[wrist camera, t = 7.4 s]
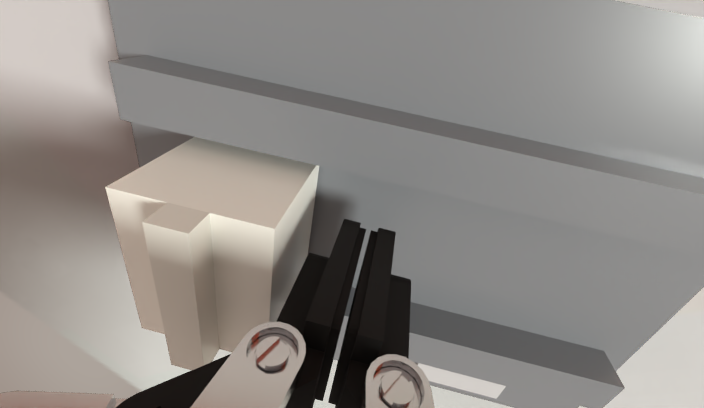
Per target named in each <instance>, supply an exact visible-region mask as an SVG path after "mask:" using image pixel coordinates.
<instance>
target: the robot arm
mask: <svg viewBox="0 0 704 408" xmlns="http://www.w3.org/2000/svg"><path fill="white" fill-rule="evenodd" d="M360 225H361V223H359V222H355V221H352V220H348V219H344V220H343V223H342V225H341V228H340V231H339V233H338V236H337V239H336V241H335V244H334V247H333V249H332V252H331V254H330V257H329V258H328V257H324V256H320V255H317V254H313V253H309V254H308V256H307V258H306V260H305V262H304V264H303V266H302V268H301V270H300V272H299V274H298V277H297V279H296V281H295V283H294V285H293V287H292V289H291V291H290V293H289V295H288V298H287V300H286V302H285V304H284V306H283V308H282V310H281V312H280V314H279V317H278V319H277V321H276V322H267V323H263V324H260V325H258V326H257V327H255V328H253V329H251V330H250V331H249V332H248V333H247V334H246V335H245V336H244V338H243V339H242V340H241V342H240V343H239V344H238V346H237V347H236V348H235V349H234V351H233V352H232V353H231V354H230V355H227V356H225V357H223V358H220V359H218V360H215V361H213V362H211V363H208V364H206V365H204V366H201V367H199V368H196V369H194V370H192V371H189V372H187V373H185V374H182V375H180V376H177V377H175V378H173V379H170V380H168V381H166V382H163V383H161V384H158V385H156V386H154V387H151V388H149V389H147V390H144V391H142V392H139V393H137V394H135V395H133V396H132V397H130V398H128V399H116V398H115V397H114V394H96V393H95V394H94V393H93V394H92V393H66V392H37V391H11V392H4V393H0V408H313V404H314V400H315V399H318V400H321V401H323V397H324V394H325V390H326V386H327V382H328V378H329V374H330V370H331V366H332V362H333V358H334V354H335V350H336V347H337V343H338V339H339V335H340V331H341V327H342V323H343V319H344V315H345V311H346V307H347V303H348V300H349V296H350V292H351V288H352V284H353V280H354V276H355V272H356V268H357V264H358V260H359V256H360V252H361V248H362V244H363V240H364V236H365V232H366V229H364V228H360ZM395 235H396V232H394V231H391V230H387V229H383V228H378V231H377V232H376V231H372V230H371V232H370V236H369V240H368V244H367V247H366V251H365V255H364V259H363V263H362V266H361V270H360V274H359V278H358V282H357V285H356V289H355V293H354V297H353V301H352V305H351V309H350V314H349V318H348V322H347V326H346V330H345V335H344V339H343V343H342V347H341V351H340V355H339V360H338V364H337V368H336V372H335V376H334V381H333V385H332V389H331V393H330V397H329V402H328V403H332V404H335V405H336V406H335V408H434V402H433V396H432V391H431V387H430V384H429V381H428V378H427V377H426V375H425V374H424V372H423V370H422V369H421V368H420V367H419V366H418V365H417V364H416V363H415V362H413V361H411V360H410V359H409V333H410V304H411V280H410V279H407V278H403V277H400V276H396V275H392V274H391V270H392V261H393V253H394V244H395Z"/></svg>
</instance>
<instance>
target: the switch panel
mask: <svg viewBox="0 0 704 408" xmlns="http://www.w3.org/2000/svg"><path fill="white" fill-rule="evenodd" d="M108 4H109V9H110V14H111V19H112V25H113V30H114V35H115V40H116V46H117V51H118V56H119V60H113V61H108V63H109V68H110V73H111V78H112V82H113V87H114V92H115V97H116V102H117V106H118V111H119V116H120V119H121V120H125V121H129V122H131V125H132V130H133V135H134V140H135V146H136V151H137V156H138V161H139V167H142V166H144V165H145V164H147V163H149V162H151V161H152V160H154V159H156V158H158V157H160V156H161V155H163V154H165V153H167V152H168V151H170V150H172V149H174V148H176V147H177V146H179V145H181V144H183V143H185V142H186V141H188V140H190V139H192V138H193V137H197V138H202V139H206V140H210V141H215V142H219V143H223V144H227V145H232V146H236V147H240V148H244V149H249V150H253V151H257V152H262V153H266V154H270V155H274V156H279V157H283V158H287V159H291V160H296V161H300V162H304V163H309V164H313V165H317V166H319V173H318V180H317V188H316V195H315V203H314V211H313V218H312V226H311V233H310V241H309V249H308V254H309V253H313V254H317V255H320V256H324V257H328V258H329V257H330V254H331V252H332V249H333V247H334V244H335V241H336V239H337V236H338V233H339V231H340V228H341V225H342V223H343V220H344V219H348V220H352V221H355V222H359V223H361V225H360V228H364V229H366V232H365V236H364V240H363V244H362V248H361V252H360V256H359V260H358V264H357V268H356V272H355V276H354V280H353V284H352V288H351V292H350V296H349V300H348V303H347V307H346V311H345V315H344V319H343V323H342V327H341V331H340V335H339V339H338V343H337V347H336V350H335V354H334V358H333V359H334V360H339V355H340V351H341V347H342V343H343V339H344V335H345V330H346V326H347V322H348V318H349V314H350V309H351V305H352V301H353V297H354V293H355V289H356V285H357V282H358V278H359V274H360V270H361V266H362V263H363V259H364V255H365V251H366V247H367V244H368V240H369V236H370V232H371V230H372V231H376V232H377V231H378V228H383V229H387V230H391V231H394V232H396V235H395V244H394V253H393V261H392V270H391V274H392V275H396V276H400V277H403V278H407V279H410V280H411V304H410V333H409V359H410V360H411V361H413V362H415V363H416V364H417V365H418V366H419V367H420V368H421V369H422V370H423V372H424V374H425V375H426V377H427V378H428V381H429V384H430V385H432V386H435V387H439V388H443V389H447V390H450V391H454V392H458V393H462V394H465V395H469V396H473V397H477V398H480V399H484V400H488V401H492V402H495V403H499V404H503V405H507V406H510V407H514V408H578V407H579V406H583V407H587V408H603V407H604V406H605V405H606V404H608V403H609V402H610V401H611V400H612V399H613V398H614V397H615V396H617V395H618V394H619V393H620V392H621V391H622V390H623V389H624V386H623V384H622V382H621V380H620V379H619V377H618V375H617V373H616V370H617V369H618V368H620V367H621V366H622V365H623V364H624V363H625V362H626V361H627V360H628V359H629V358H630V357H631V356H632V355H633V354H634V353H635V352H636V351H637V350H638V349H639V348H640V347H641V346H643V345H644V344H645V343H646V342H647V341H648V340H649V339H650V338H651V337H652V336H653V335H654V334H655V333H656V332H657V331H658V330H659V329H660V328H661V327H662V326H663V325H664V324H666V323H667V322H668V321H669V320H670V319H671V318H672V317H673V316H674V315H675V314H676V313H677V312H678V311H679V310H680V309H681V308H682V307H683V306H684V305H685V304H686V303H687V302H689V301H690V300H691V299H692V298H693V297H694V296H695V295H696V294H697V293H698V292H699V291H700V290H701V289H702V288H703V287H704V18H702V17H697V16H692V15H686V14H681V13H676V12H671V11H666V10H661V9H656V8H651V7H645V6H640V5H635V4H630V3H625V2H620V1H615V0H108Z"/></svg>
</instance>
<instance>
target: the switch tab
mask: <svg viewBox="0 0 704 408" xmlns="http://www.w3.org/2000/svg"><path fill="white" fill-rule="evenodd" d="M318 173H319V166H317V165H313V164H309V163H304V162H300V161H296V160H291V159H287V158H283V157H279V156H274V155H270V154H266V153H262V152H257V151H253V150H249V149H244V148H240V147H236V146H232V145H227V144H223V143H219V142H215V141H210V140H206V139H202V138H197V137H193V138H192V139H190V140H188V141H186V142H185V143H183V144H181V145H179V146H177V147H176V148H174V149H172V150H170V151H168V152H167V153H165V154H163V155H161V156H160V157H158V158H156V159H154V160H152V161H151V162H149V163H147V164H145V165H144V166H142V167H140V168H138V169H136V170H135V171H133V172H131V173H129V174H128V175H126V176H124V177H122V178H120V179H119V180H117V181H115V182H113V183H112V184H110V185H108V186H106V187H105V188H106V192H107V196H108V200H109V204H110V208H111V211H112V215H113V219H114V223H115V227H116V231H117V234H118V238H119V242H120V246H121V250H122V253H123V257H124V261H125V265H126V269H127V273H128V276H129V280H130V284H131V288H132V292H133V296H134V299H135V303H136V307H137V311H138V315H139V319H140V322H141V326H142V328H144V329H148V330H152V331H155V332H159V333H163V334H165V336H166V341H167V346H168V351H169V355H170V360H171V365H175V366H179V367H182V368H186V369H189V370H194V369H196V368H199V367H201V366H204V365H206V364H208V363H211V362H212V361H213V359H214V357H215V355H216V354H217V352H218V350H219V349H222V350H226V351H229V352H233V351H234V349H235V348H236V347H237V346H238V344H239V343H240V342H241V340H242V339H243V338H244V336H245V335H246V334H247V333H248V332H249V331H250V330H251V329H253V328H255V327H257V326H258V325H260V324H263V323H267V322H276V321H277V319H278V317H279V314H280V312H281V310H282V308H283V306H284V304H285V302H286V300H287V298H288V295H289V293H290V291H291V289H292V287H293V285H294V283H295V281H296V279H297V277H298V274H299V272H300V270H301V268H302V266H303V264H304V262H305V260H306V258H307V256H308V249H309V241H310V233H311V226H312V218H313V211H314V203H315V195H316V188H317V180H318Z"/></svg>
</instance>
